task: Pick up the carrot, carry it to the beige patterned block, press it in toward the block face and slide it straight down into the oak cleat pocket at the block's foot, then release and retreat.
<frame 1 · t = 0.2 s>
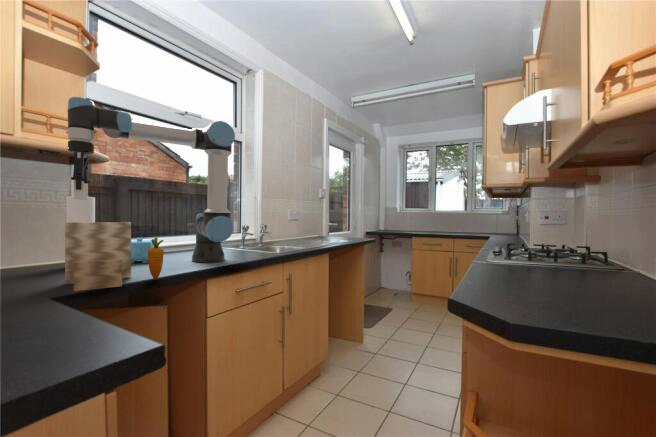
hand: (81, 199, 114), 28 cm above the counter, fingers open, 13 cm apart
carrot: (155, 280, 109), on the counter
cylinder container: (81, 267, 132), on the counter
teapot: (138, 262, 146), on the counter
beige patterned block: (99, 280, 107), on the counter
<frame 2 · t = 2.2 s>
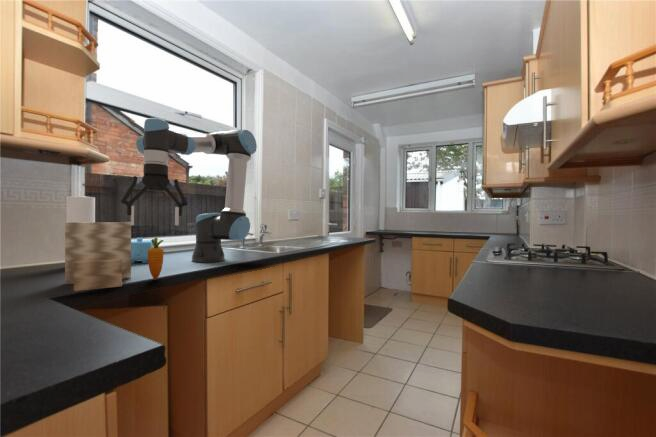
hand: (155, 225, 109), 19 cm above the counter, fingers open, 13 cm apart
nothing on the counter moved.
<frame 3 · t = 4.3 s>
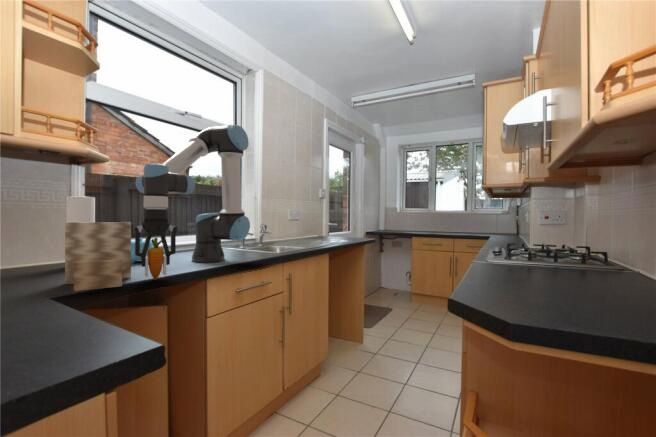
hand: (155, 274, 109), 2 cm above the counter, fingers closed on carrot, 5 cm apart
carrot: (155, 280, 109), on the counter, touching gripper
everything else where it was.
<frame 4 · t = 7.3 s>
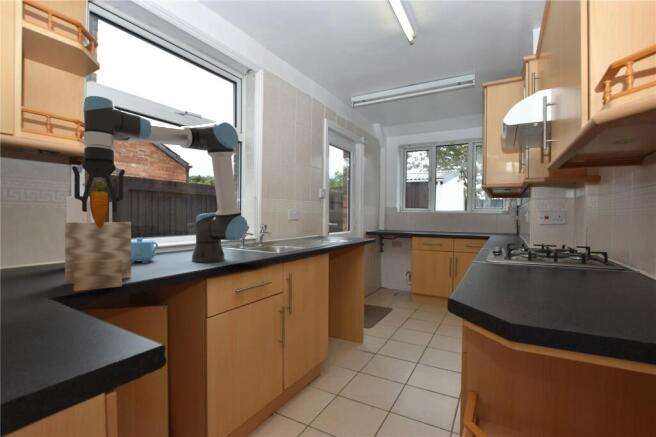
hand: (99, 222, 98), 20 cm above the counter, fingers closed on carrot, 5 cm apart
carrot: (99, 228, 98), point 18 cm above the counter, touching gripper
everything else where it was.
when the fingers open (10 cm above the counter, at t = 10.5 s): carrot drops 1 cm, resting on beige patterned block.
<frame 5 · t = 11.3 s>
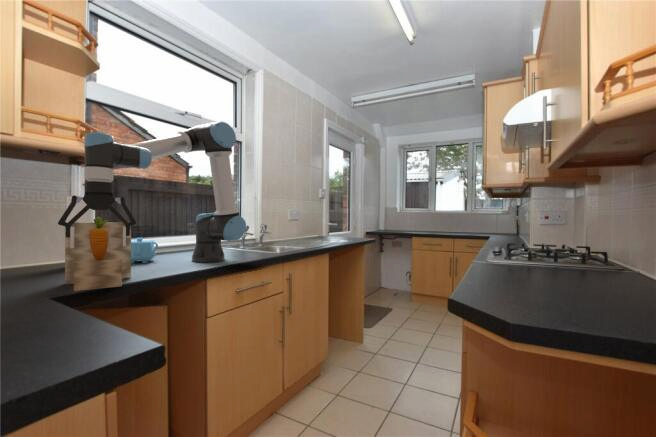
hand: (99, 247, 101), 12 cm above the counter, fingers open, 13 cm apart
carrot: (99, 263, 101), point 7 cm above the counter, touching beige patterned block
everything else where it was.
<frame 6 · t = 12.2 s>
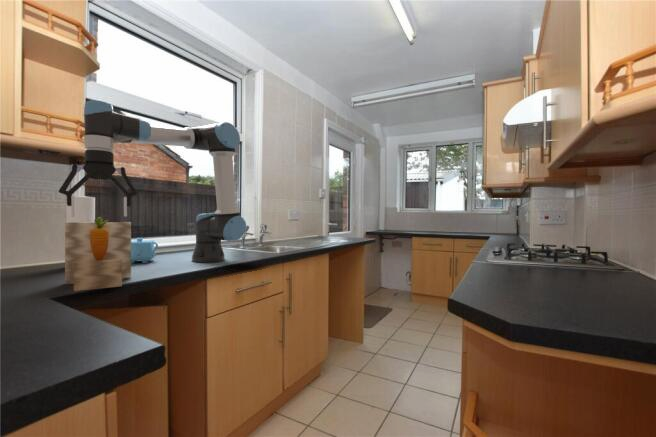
hand: (100, 216, 101), 22 cm above the counter, fingers open, 13 cm apart
nothing on the counter moved.
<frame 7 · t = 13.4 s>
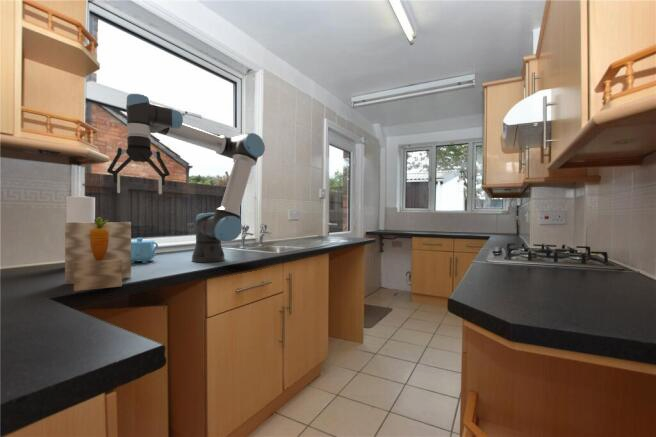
hand: (140, 193, 119), 31 cm above the counter, fingers open, 13 cm apart
nothing on the counter moved.
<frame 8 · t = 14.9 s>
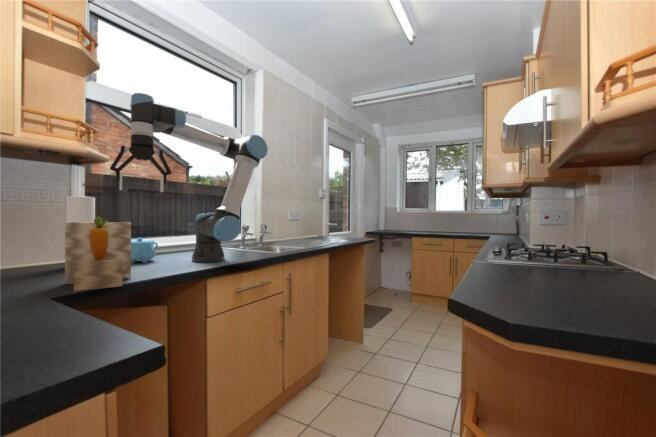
hand: (142, 191, 120), 32 cm above the counter, fingers open, 13 cm apart
nothing on the counter moved.
at the end: carrot inside the target area on the beige patterned block (0.5 cm from its centre), point 6.8 cm above the beige patterned block's base; carrot tilted 1°; the gripper is holding nothing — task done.
